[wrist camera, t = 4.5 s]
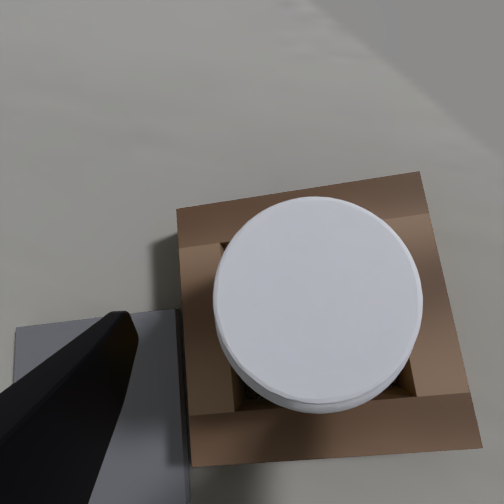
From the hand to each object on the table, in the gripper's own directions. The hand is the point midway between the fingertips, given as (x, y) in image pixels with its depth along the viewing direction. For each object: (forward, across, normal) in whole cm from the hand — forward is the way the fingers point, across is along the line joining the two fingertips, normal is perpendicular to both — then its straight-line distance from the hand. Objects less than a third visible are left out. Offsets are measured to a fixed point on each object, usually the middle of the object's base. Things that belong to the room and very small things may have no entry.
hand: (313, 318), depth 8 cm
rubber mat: (+3, +10, +8) cm, 13 cm away
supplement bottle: (+6, 0, +6) cm, 8 cm away
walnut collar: (+6, 0, +5) cm, 8 cm away
